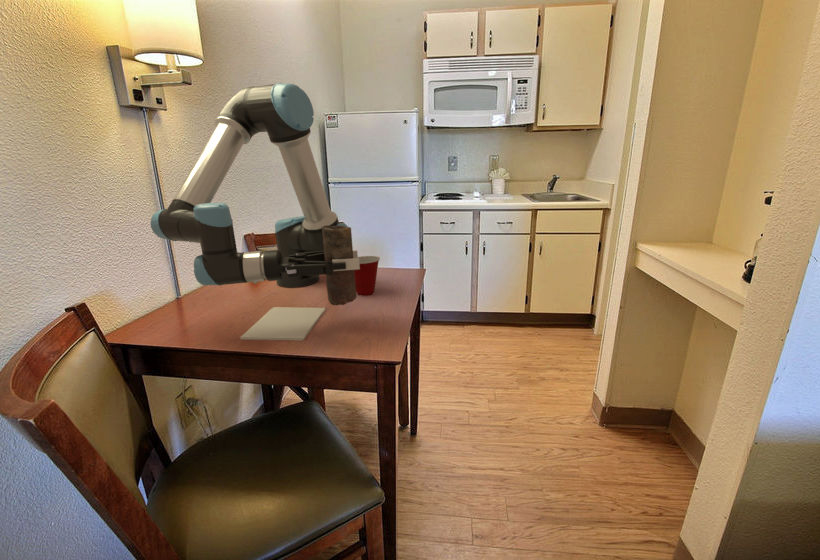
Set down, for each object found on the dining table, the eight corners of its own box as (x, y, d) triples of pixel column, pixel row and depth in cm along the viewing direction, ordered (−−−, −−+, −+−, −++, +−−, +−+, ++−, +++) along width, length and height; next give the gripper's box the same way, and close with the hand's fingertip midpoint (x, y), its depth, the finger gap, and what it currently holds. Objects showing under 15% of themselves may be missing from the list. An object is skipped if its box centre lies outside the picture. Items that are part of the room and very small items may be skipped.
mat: (273, 309, 115) (273, 307, 115) (325, 309, 114) (325, 307, 114) (240, 339, 96) (240, 337, 96) (303, 340, 95) (302, 338, 95)
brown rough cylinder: (326, 297, 104) (320, 223, 98) (353, 294, 106) (349, 222, 100) (329, 307, 97) (323, 229, 91) (358, 304, 99) (354, 227, 93)
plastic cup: (371, 285, 135) (370, 252, 131) (387, 294, 126) (386, 258, 122) (343, 291, 129) (340, 257, 125) (357, 301, 120) (355, 264, 117)
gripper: (273, 268, 106) (357, 262, 110) (260, 294, 87) (362, 285, 91) (269, 242, 103) (355, 236, 107) (255, 262, 84) (360, 255, 88)
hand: (358, 259), depth 99 cm, fingers closed on brown rough cylinder, 7 cm apart
